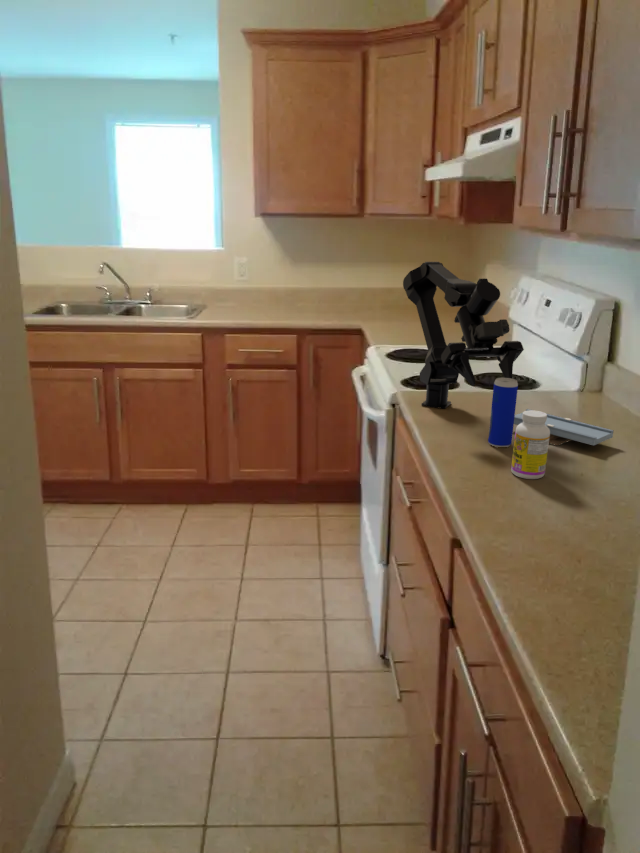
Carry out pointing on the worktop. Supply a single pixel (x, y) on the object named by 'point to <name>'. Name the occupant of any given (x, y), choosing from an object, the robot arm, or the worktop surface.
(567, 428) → the beam
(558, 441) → the fulcrum
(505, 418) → the beverage can
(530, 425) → the supplement bottle
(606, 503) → the worktop surface
